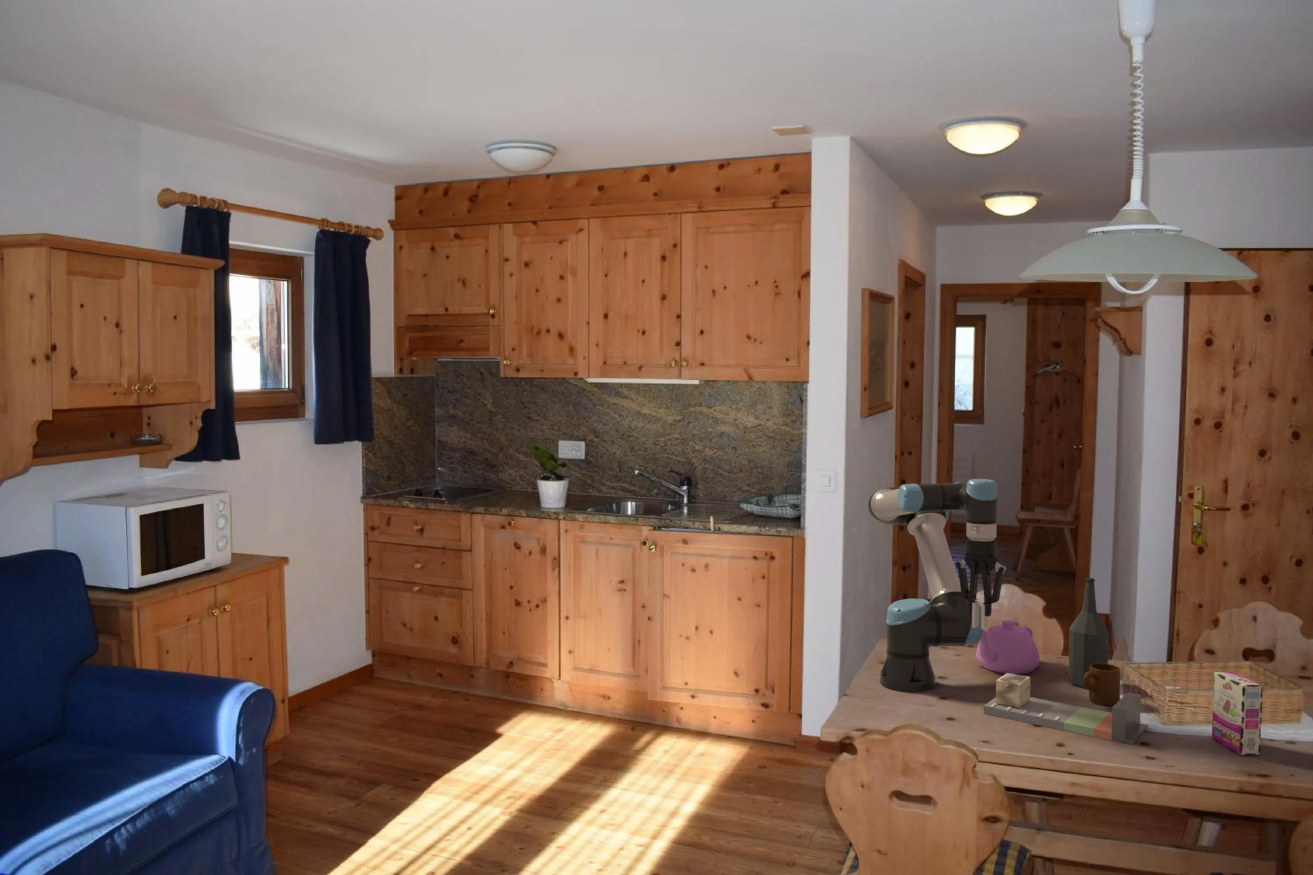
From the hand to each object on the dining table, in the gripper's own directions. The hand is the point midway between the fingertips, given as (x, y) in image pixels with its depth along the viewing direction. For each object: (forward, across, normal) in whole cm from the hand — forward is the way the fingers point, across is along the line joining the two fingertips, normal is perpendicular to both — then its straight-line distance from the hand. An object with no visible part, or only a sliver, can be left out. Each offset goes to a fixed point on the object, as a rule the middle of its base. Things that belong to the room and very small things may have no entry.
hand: (979, 626), depth 270 cm
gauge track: (+20, +19, 0) cm, 28 cm away
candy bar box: (+21, +59, +6) cm, 63 cm away
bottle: (+21, +18, +34) cm, 44 cm away
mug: (+21, +25, +19) cm, 38 cm away
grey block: (+20, +36, 0) cm, 42 cm away
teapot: (+21, -6, +36) cm, 42 cm away
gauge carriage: (+18, +9, -1) cm, 20 cm away
